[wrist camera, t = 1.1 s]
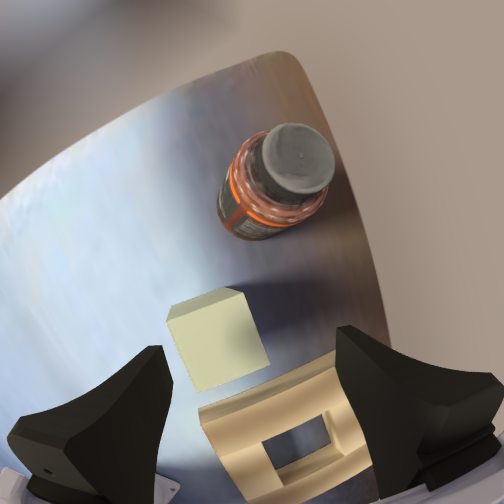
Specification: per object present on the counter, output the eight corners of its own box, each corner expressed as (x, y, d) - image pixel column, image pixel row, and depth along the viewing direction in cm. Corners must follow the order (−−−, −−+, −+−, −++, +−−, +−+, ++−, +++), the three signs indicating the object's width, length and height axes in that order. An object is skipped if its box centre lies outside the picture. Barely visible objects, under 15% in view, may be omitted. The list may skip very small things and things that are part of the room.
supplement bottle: (292, 232, 26) (367, 202, 15) (226, 250, 24) (262, 229, 13) (272, 167, 26) (330, 103, 15) (207, 181, 24) (228, 112, 13)
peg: (242, 337, 24) (270, 364, 16) (192, 356, 23) (197, 393, 15) (223, 286, 24) (243, 292, 16) (171, 305, 23) (165, 321, 15)
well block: (366, 447, 26) (380, 458, 23) (252, 502, 23) (259, 519, 20) (339, 346, 26) (356, 353, 23) (197, 408, 22) (200, 424, 20)
